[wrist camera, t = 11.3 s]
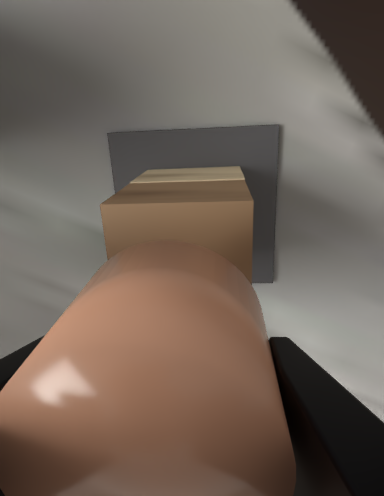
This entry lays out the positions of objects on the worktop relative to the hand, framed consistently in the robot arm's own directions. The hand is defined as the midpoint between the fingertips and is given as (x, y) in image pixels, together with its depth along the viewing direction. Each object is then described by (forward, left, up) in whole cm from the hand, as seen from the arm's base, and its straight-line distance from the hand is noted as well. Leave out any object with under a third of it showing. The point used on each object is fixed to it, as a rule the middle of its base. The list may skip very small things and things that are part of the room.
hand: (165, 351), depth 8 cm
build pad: (0, 0, -12) cm, 12 cm away
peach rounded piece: (0, 0, -1) cm, 1 cm away
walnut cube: (0, 0, -8) cm, 8 cm away
